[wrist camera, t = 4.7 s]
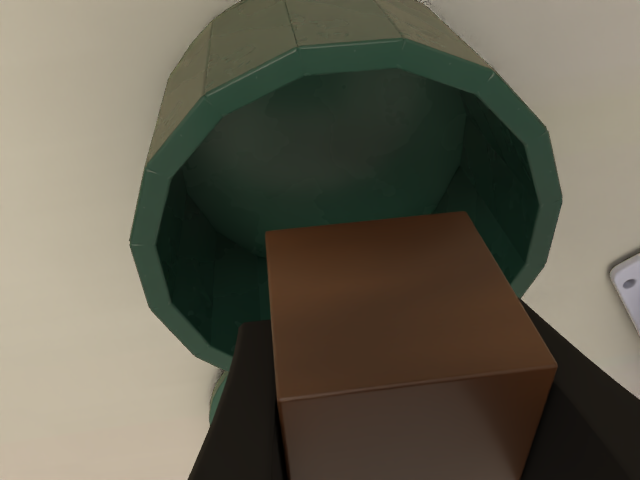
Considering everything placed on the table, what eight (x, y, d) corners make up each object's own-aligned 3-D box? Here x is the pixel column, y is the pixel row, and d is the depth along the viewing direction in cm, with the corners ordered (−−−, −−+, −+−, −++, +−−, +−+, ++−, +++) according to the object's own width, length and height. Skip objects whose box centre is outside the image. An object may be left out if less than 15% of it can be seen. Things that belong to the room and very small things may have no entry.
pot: (458, 254, 22) (518, 368, 17) (192, 283, 21) (180, 411, 16) (500, -36, 16) (611, 21, 11) (123, -10, 15) (72, 64, 10)
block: (466, 209, 11) (560, 366, 8) (445, 347, 13) (512, 509, 10) (264, 229, 11) (277, 401, 7) (281, 367, 13) (295, 540, 10)
